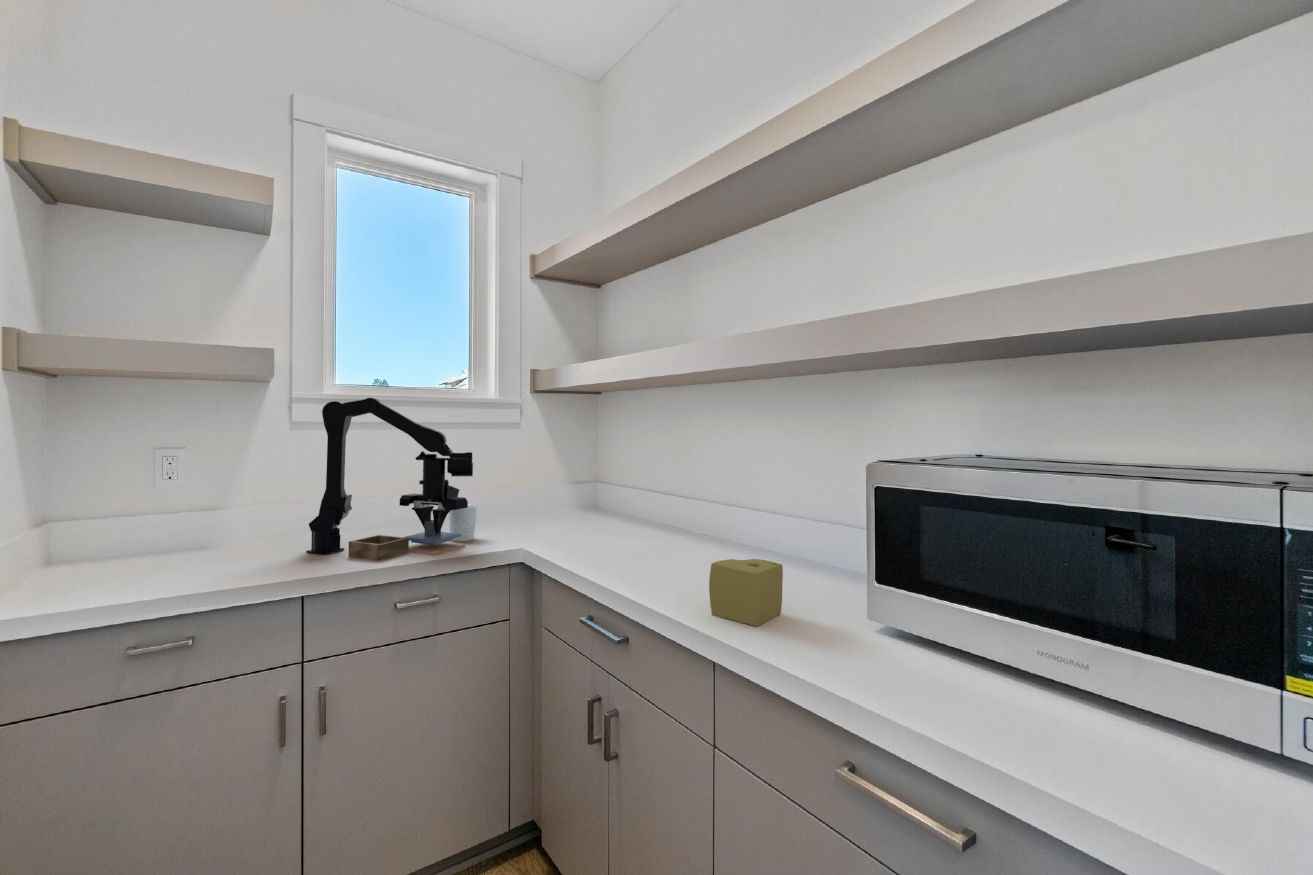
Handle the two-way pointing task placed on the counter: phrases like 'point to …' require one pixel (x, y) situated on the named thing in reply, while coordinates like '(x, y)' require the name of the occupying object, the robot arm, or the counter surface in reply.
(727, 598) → the cheese
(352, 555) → the box
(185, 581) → the counter surface
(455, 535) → the lid
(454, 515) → the white cup
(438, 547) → the mat
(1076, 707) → the counter surface
